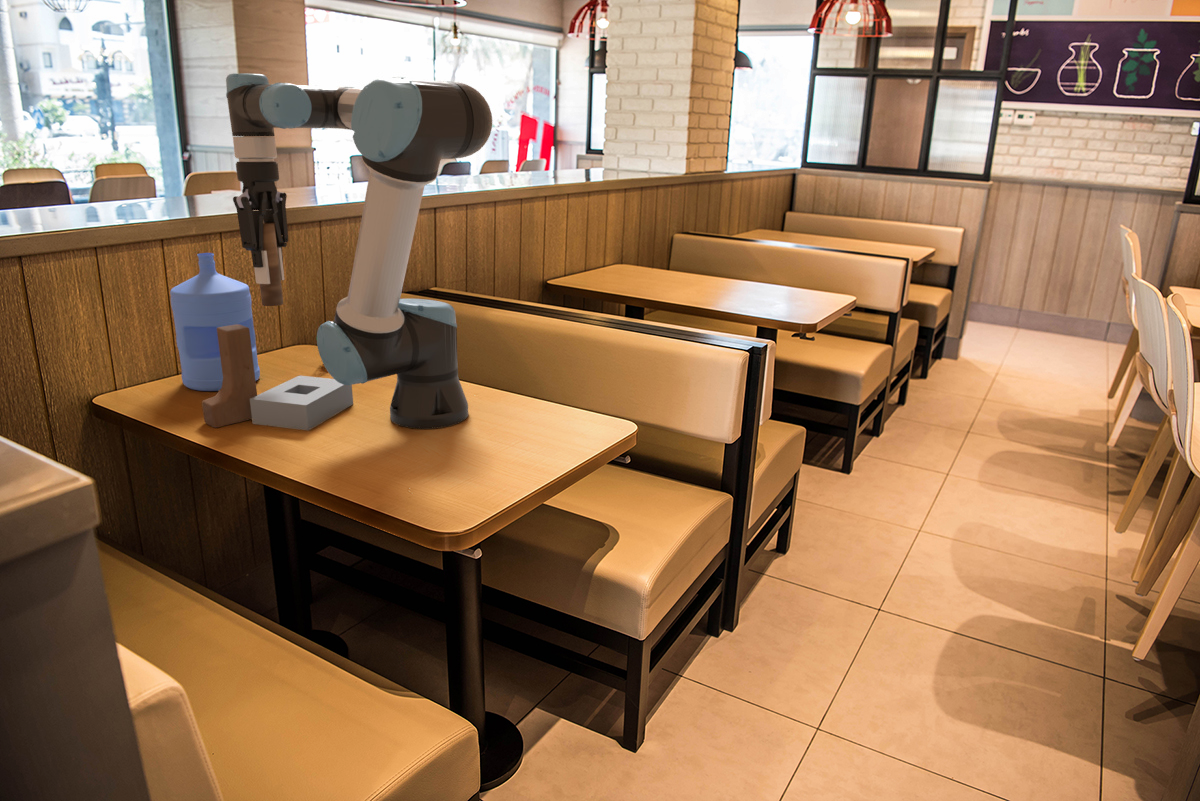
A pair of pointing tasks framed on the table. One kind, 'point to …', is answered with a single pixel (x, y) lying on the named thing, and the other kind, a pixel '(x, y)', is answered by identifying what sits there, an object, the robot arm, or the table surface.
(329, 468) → the table surface
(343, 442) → the table surface
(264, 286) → the pin
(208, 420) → the brown boot
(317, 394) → the socket board
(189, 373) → the water jug
